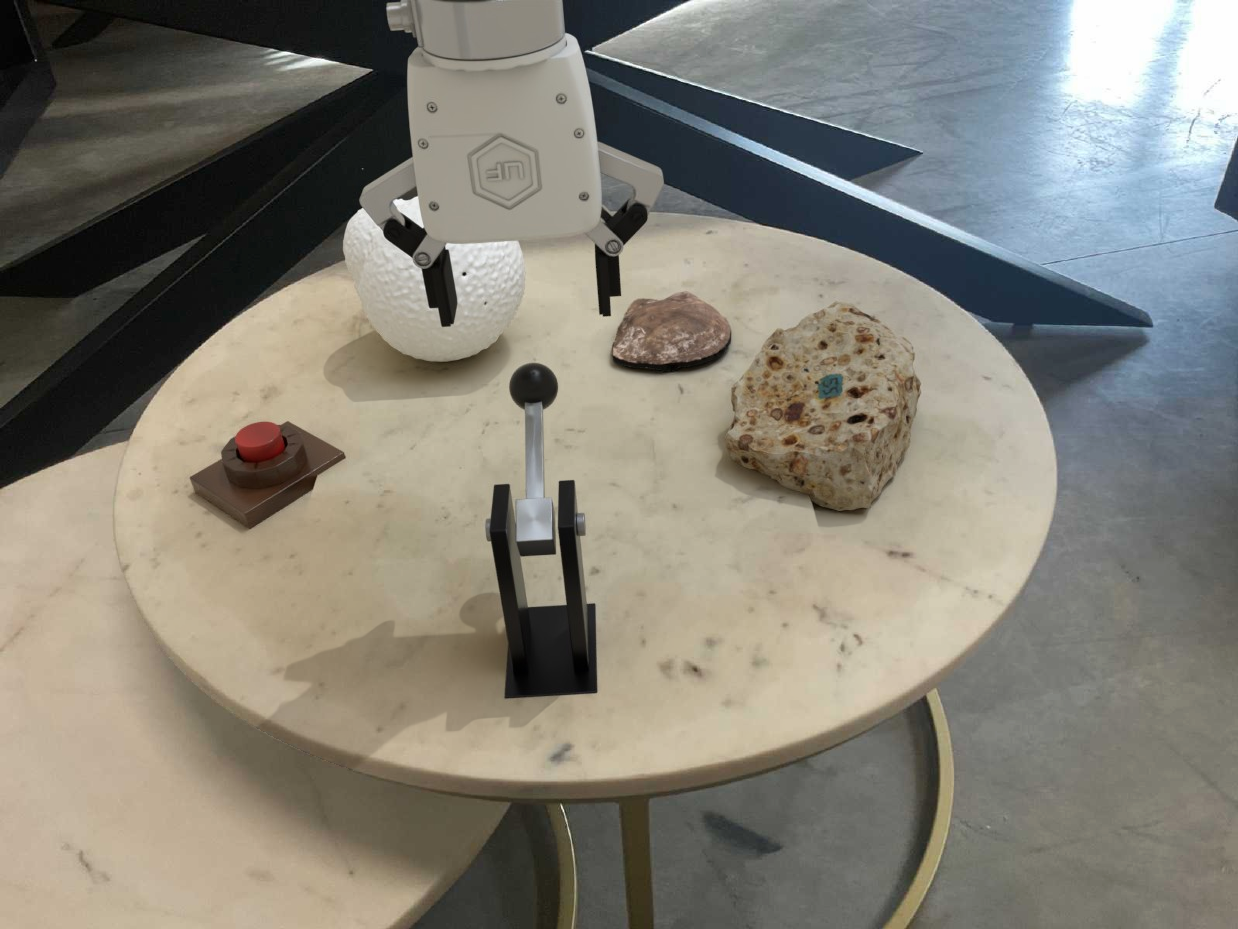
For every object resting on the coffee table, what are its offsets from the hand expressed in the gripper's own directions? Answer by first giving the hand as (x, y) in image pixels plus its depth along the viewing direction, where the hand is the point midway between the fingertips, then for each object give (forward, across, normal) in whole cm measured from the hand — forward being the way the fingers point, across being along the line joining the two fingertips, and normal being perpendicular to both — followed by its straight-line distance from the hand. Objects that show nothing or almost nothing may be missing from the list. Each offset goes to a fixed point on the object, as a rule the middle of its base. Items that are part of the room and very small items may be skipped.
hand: (527, 310), depth 64 cm
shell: (+22, +11, +32) cm, 40 cm away
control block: (+22, -25, +13) cm, 35 cm away
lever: (+9, 0, -4) cm, 10 cm away
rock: (+22, +23, +15) cm, 35 cm away
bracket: (+22, 0, -9) cm, 24 cm away
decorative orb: (+22, -12, +33) cm, 42 cm away
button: (+19, -25, +13) cm, 34 cm away
